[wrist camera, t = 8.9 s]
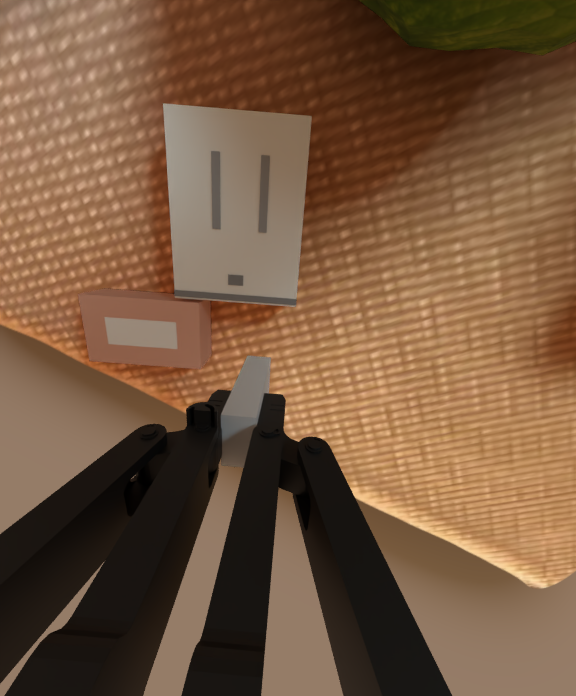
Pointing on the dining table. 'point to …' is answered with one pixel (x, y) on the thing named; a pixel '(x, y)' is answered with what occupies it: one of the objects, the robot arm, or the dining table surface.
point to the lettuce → (481, 23)
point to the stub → (146, 328)
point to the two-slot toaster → (236, 202)
